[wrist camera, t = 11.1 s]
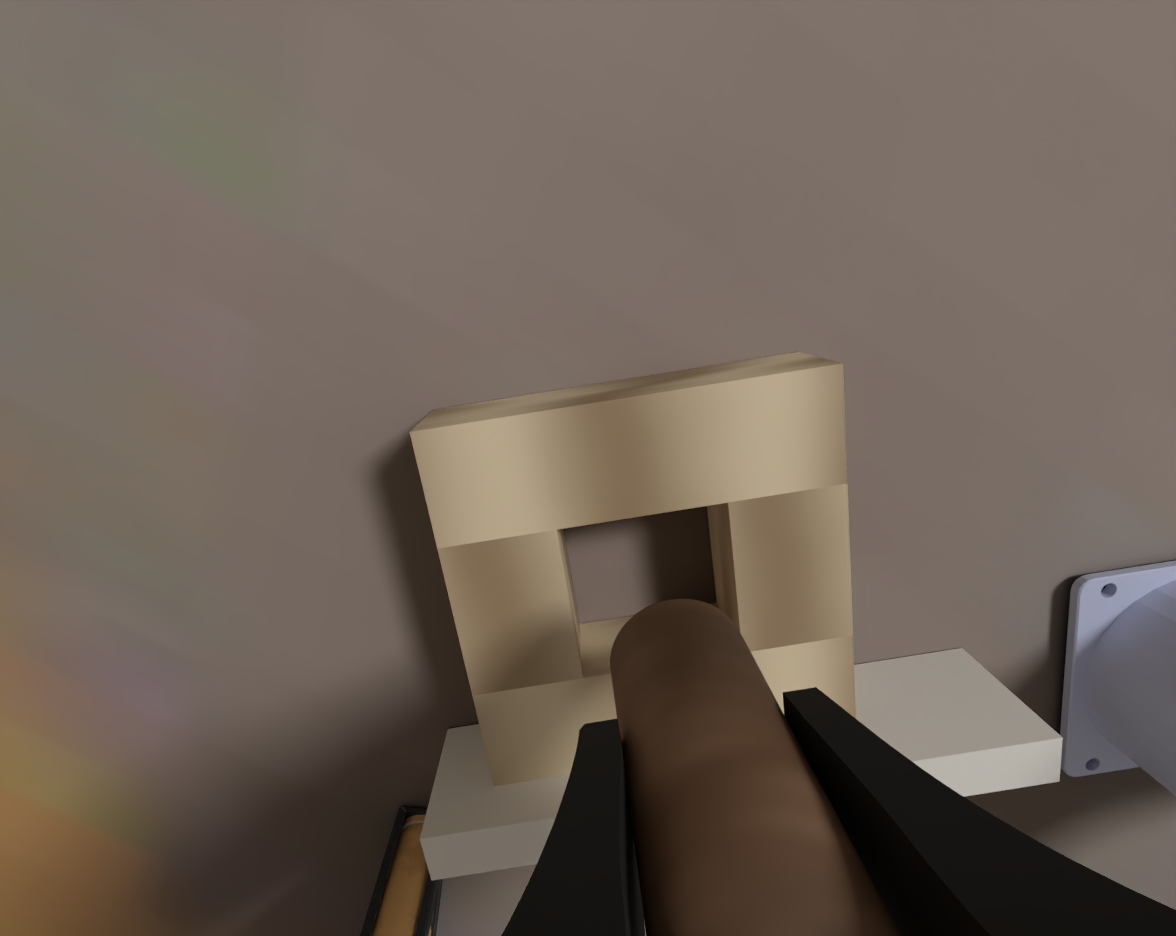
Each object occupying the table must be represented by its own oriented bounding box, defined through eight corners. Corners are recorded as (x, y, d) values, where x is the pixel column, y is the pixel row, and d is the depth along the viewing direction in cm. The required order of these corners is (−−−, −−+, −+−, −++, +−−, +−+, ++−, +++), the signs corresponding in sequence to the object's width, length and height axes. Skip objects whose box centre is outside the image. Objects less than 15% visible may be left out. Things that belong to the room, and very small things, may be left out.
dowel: (744, 592, 13) (1087, 1147, 5) (745, 711, 14) (1036, 1371, 6) (605, 604, 13) (692, 1192, 5) (614, 724, 14) (702, 1409, 5)
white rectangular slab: (961, 648, 22) (1062, 737, 17) (959, 777, 23) (1050, 889, 19) (447, 728, 22) (419, 838, 17) (479, 852, 23) (460, 982, 19)
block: (798, 351, 18) (842, 363, 16) (816, 670, 22) (856, 728, 19) (432, 410, 18) (409, 432, 16) (502, 720, 22) (493, 786, 19)
